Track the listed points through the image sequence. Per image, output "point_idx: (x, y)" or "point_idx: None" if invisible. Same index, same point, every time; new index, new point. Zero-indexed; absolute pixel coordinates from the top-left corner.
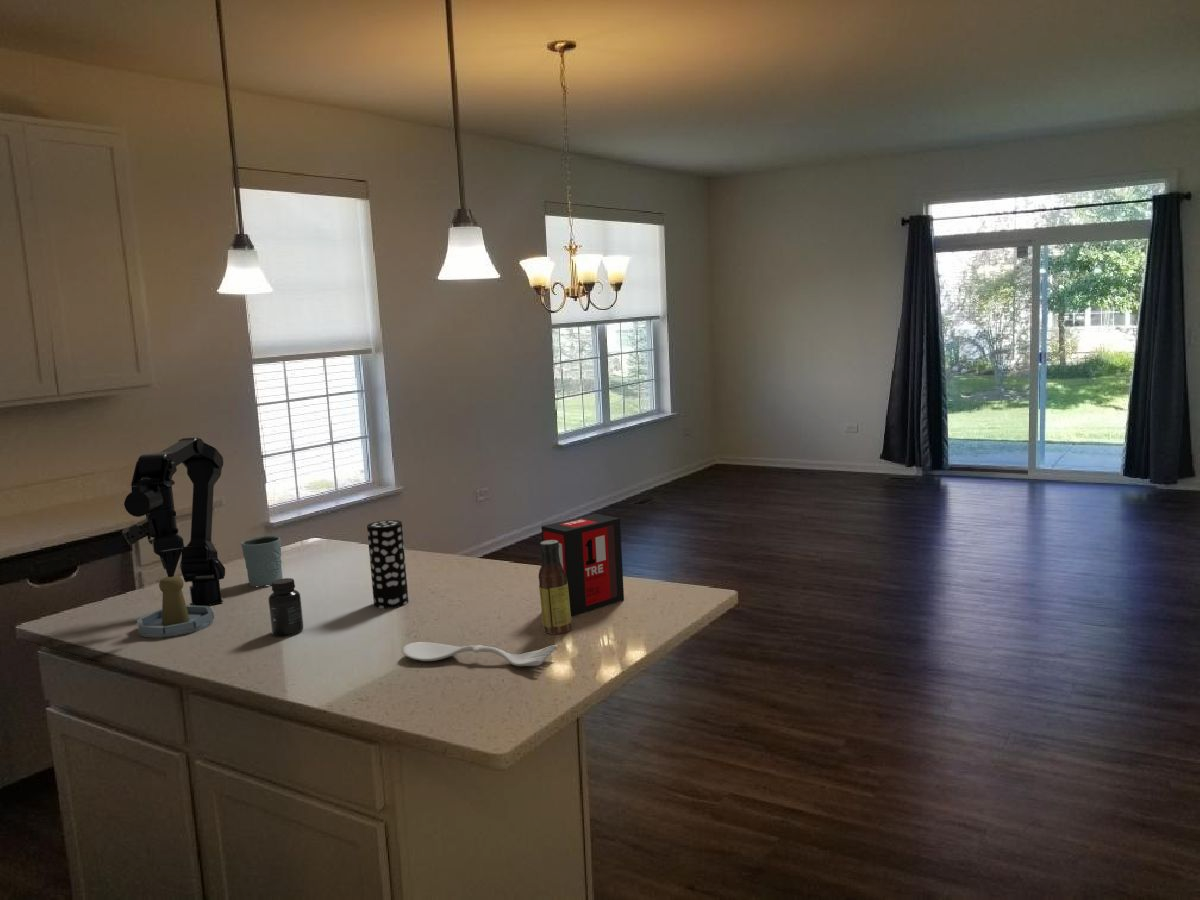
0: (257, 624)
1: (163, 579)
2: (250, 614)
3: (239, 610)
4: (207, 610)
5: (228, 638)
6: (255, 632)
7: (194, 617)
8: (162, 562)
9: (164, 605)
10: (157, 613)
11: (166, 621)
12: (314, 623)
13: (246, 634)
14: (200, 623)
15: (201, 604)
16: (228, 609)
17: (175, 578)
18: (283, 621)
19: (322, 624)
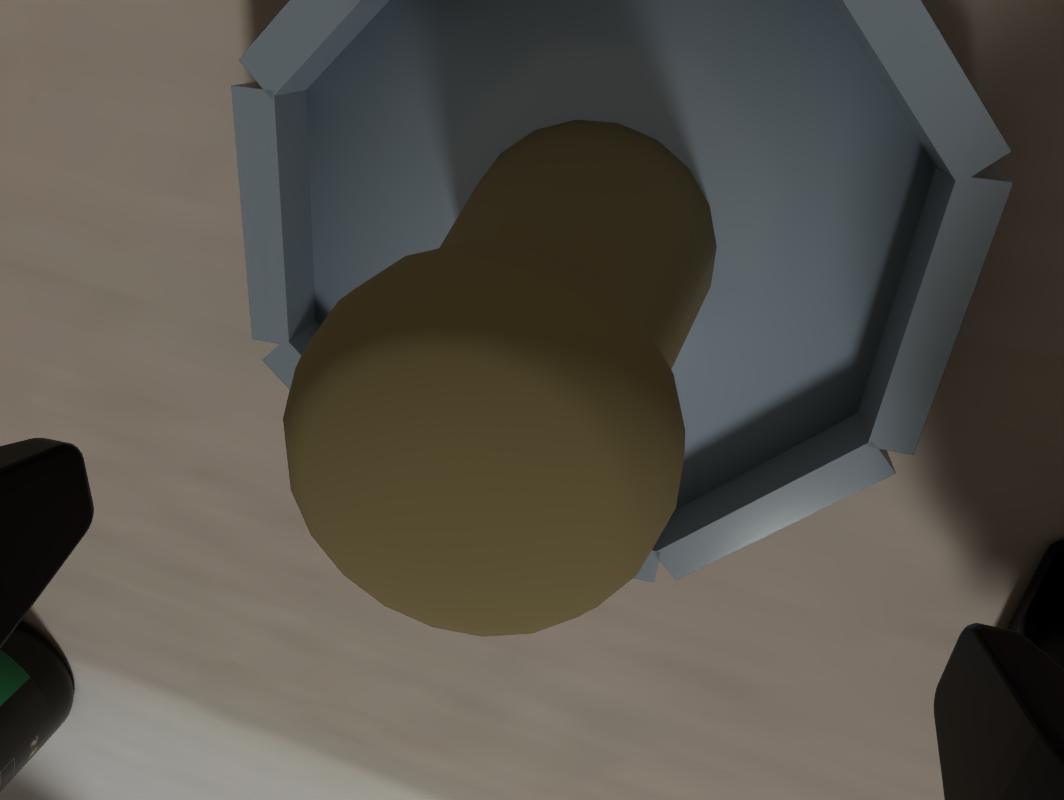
0: (233, 633)
1: (416, 376)
2: (481, 692)
3: (641, 693)
4: None
5: (41, 427)
6: (82, 568)
7: None
8: (1056, 761)
9: (489, 201)
10: (938, 154)
11: (502, 160)
12: (87, 781)
13: None
14: None
15: (1059, 594)
16: (741, 664)
17: (338, 542)
18: None
19: (54, 789)
